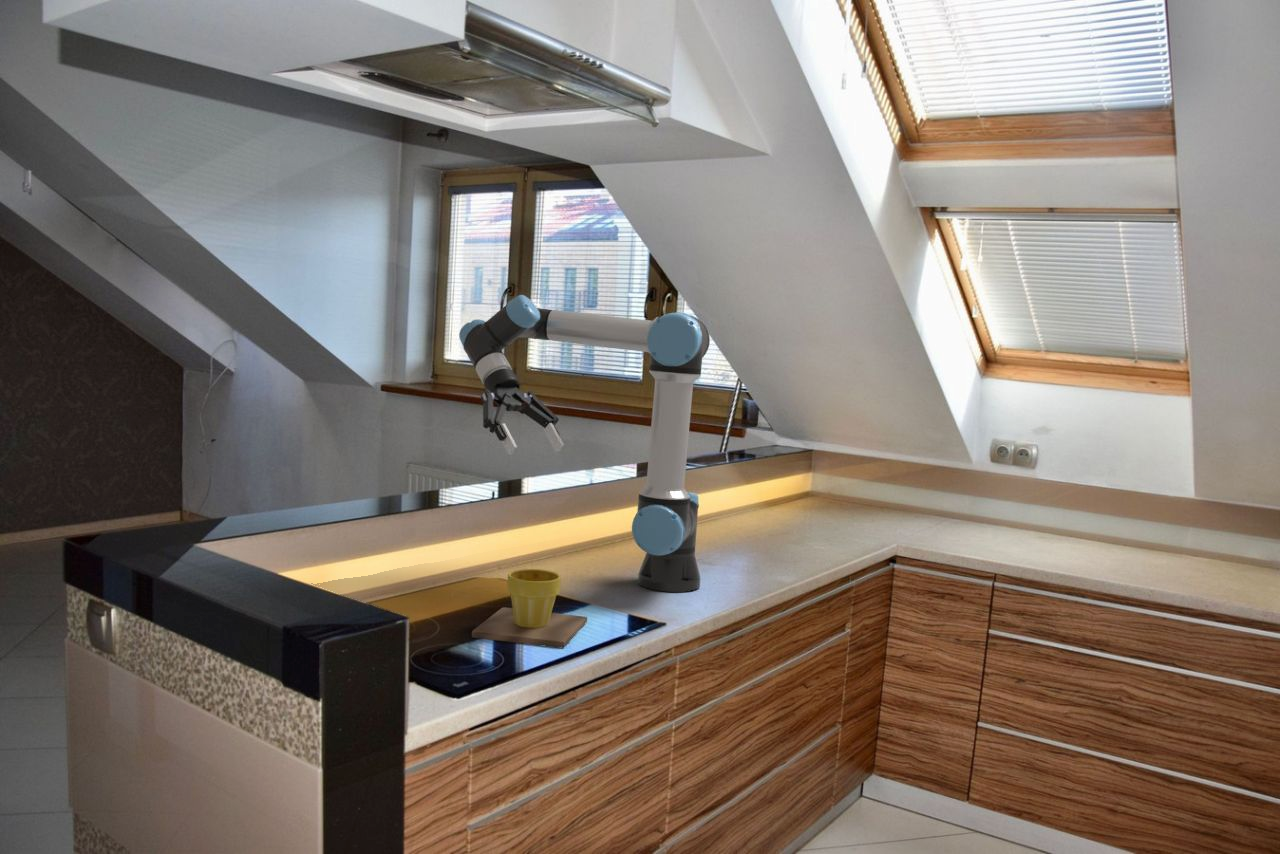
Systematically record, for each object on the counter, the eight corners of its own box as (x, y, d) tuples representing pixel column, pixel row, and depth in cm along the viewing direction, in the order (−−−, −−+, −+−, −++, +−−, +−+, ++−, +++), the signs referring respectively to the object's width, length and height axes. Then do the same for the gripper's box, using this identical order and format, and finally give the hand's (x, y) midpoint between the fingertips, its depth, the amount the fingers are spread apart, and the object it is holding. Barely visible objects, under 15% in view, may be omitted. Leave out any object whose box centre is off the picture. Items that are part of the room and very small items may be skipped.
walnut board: (586, 622, 195) (587, 616, 195) (564, 648, 177) (564, 642, 177) (502, 612, 198) (502, 607, 198) (471, 637, 180) (472, 631, 180)
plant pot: (558, 632, 183) (561, 582, 182) (503, 630, 182) (506, 579, 181) (558, 617, 193) (561, 569, 192) (506, 615, 192) (509, 567, 191)
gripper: (531, 389, 231) (569, 458, 222) (445, 387, 213) (483, 462, 204) (547, 368, 227) (586, 437, 218) (460, 364, 209) (500, 440, 199)
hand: (537, 450), depth 211 cm, fingers open, 13 cm apart
